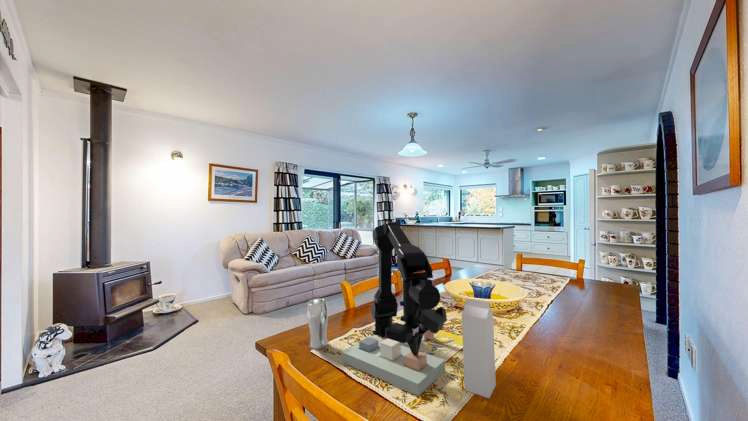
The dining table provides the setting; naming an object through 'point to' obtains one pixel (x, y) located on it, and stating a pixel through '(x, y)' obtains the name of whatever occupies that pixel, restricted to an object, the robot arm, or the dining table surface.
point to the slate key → (368, 344)
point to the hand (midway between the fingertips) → (415, 355)
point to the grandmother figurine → (429, 337)
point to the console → (394, 368)
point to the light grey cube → (390, 349)
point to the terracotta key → (416, 361)
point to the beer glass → (318, 322)
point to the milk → (478, 347)
